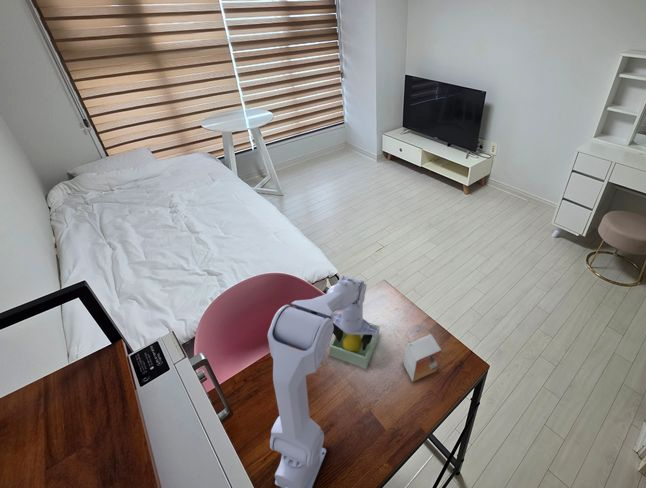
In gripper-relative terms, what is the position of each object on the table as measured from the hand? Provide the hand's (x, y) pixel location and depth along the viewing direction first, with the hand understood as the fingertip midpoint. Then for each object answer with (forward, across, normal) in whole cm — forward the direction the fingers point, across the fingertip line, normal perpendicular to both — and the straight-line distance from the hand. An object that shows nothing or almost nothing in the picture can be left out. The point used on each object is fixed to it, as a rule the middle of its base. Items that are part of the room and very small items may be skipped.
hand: (352, 342), depth 95 cm
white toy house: (+5, -20, -2) cm, 21 cm away
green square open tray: (+4, 0, -2) cm, 5 cm away
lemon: (+4, 0, 0) cm, 4 cm away
